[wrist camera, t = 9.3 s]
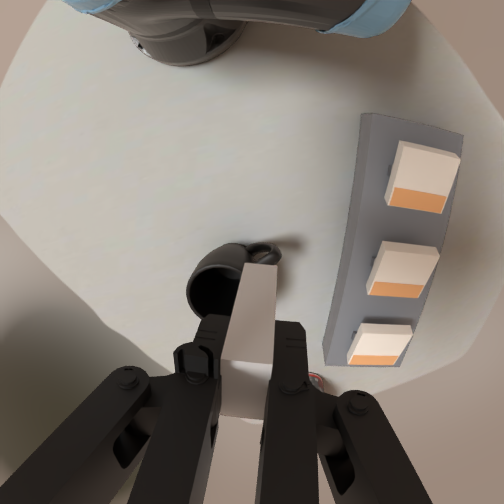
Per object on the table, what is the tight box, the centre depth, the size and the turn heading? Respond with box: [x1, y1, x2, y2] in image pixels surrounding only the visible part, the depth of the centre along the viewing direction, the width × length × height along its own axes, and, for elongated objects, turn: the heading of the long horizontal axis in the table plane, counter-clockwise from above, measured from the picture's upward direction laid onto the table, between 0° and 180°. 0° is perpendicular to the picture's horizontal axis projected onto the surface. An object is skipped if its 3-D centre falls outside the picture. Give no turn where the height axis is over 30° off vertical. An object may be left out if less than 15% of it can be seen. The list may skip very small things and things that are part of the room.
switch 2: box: [366, 241, 440, 298], centre depth 35 cm, size 7×7×2 cm
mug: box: [186, 243, 282, 319], centre depth 39 cm, size 8×12×10 cm
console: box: [322, 113, 464, 367], centre depth 39 cm, size 34×12×6 cm, turn 176°
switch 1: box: [384, 140, 461, 214], centre depth 31 cm, size 7×7×2 cm
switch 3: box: [347, 323, 413, 365], centre depth 39 cm, size 7×7×2 cm
